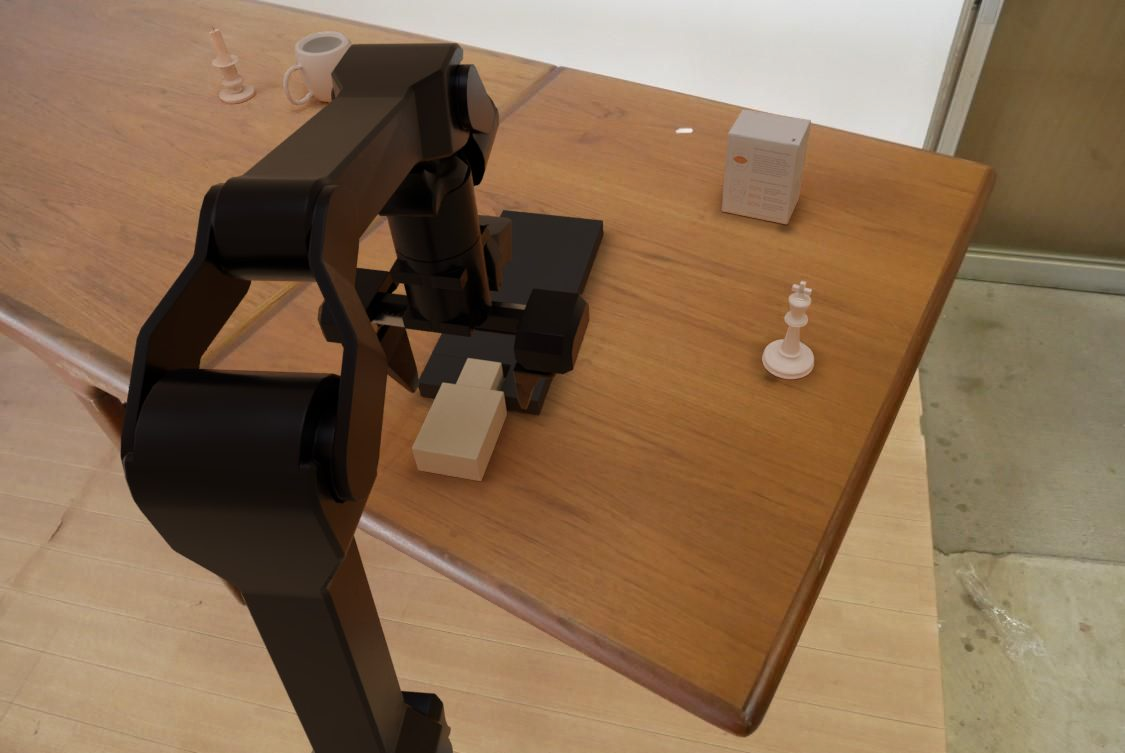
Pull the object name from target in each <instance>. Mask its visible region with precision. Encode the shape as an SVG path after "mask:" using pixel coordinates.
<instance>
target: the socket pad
mask: <svg viewBox="0 0 1125 753" xmlns="http://www.w3.org/2000/svg"><path fill="white" fill-rule="evenodd" d="M499 217H505V218H509V219H511V221H512V261H511V262H510V263H506V264H505V266H504V267H503V268H502V276H503V283H502V285H501V288H500V290H499V292H493V291H492V293H491V301H497V302H505V303H513V304H522V305H526V304H527V302H528V300H529V297H530V295H531V292H532V290H533V288H535V289H544V290H552V291H561V292H569V293H578V294H581V295H583V293H584V290H585V287H586V284H587V282H588V278H589V276H590V274H591V270H592V268H593V265H594V262H595V259H596V256H597V254H598V251H599V247H600V245H601V242H602V239H603V236H604V220H602V219H594V218H584V217H575V216H574V217H573V216H567V215H566V216H565V215H554V214H545V213H536V212H528V211H527V212H526V211H517V210H509V209H503V210H502V211H501V213H500V215H499ZM514 342H515V336H514V335H506V334H498V333H491V332H483V331H475V330H474V332H473V334H472V336H471V337H465V336H457V335H450V334H442V333H440V336H439V338H438V340H437V342H436V344H435V345H434V347H433V350H432V352H431V354H430V356H429V357H428V360H427V362H426V364H425V366H424V368H423V369H422V372H421V374H420V376H419V377H418V378H419V386H418V390H419V394H420V397H424V398H430V399H435V398H436V396H437V393H438V391H439V389H440V387H441V385H442V383H449V384H456V383H457V381H458V378H459V376H460V374H461V372H462V370H463V367H464V365H465V363H466V361H467V359H468V358H472V359H478V360H485V361H492V362H499V363H501V365H502V371H503V377H504V384H503V386H502V389H501V391H502V392H504V398H505V404H506V410H507V411H511V412H517V413H518V412H520V413H523V414H529V415H530V414H532V415H538V416H540V414H541V412H542V409H543V406H544V403H545V400H546V398H547V394H548V392H549V389H550V387H551V384H552V381H553V378H554V377H552V378H549V379H546V378H540V380H539V381H538V382H537V384H536V385H535V387H534V389H533V392H532V395H531V398H530V401H529V404H528V407H527V409H522V408H521V406H520V404H519V402H518V397H517V391H516V385H515V379H514V373H513V369H514V367H515V364H516V362H517V361H516V360H515V355H514Z"/></svg>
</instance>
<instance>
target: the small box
mask: <svg viewBox="0 0 1125 753" xmlns="http://www.w3.org/2000/svg"><path fill="white" fill-rule="evenodd" d="M811 124H812V121H811V119H806V118H800V117H794V116H787V115H781V114H776V113H768V112H763V111H757V110H751V109H744V108H743V109H742V110H741V111H740V113H739V114H738V116H737V118H736V119H735V121H734V123H733V124H732V126H731V128H730V129H729V131H728V132H727V137H726V138H727V139H726V151H725V152H726V153H725V162H724V175H723V187H722V188H723V189H722V200H721V212H724V213H728V214H734V215H737V216H738V215H739V216H743V217H747V218H753V219H758V220H762V221H768V222H772V223H777V224H781V225H788V224H789V222H790V220H791V217H792V216H793V213H794V210H795V208H796V206H797V204H798V201H799V199H800V195H801V189H802V183H803V177H804V169H805V163H806V158H807V151H808V150H807V149H808V145H809V138H810V133H811V132H810V131H811Z"/></svg>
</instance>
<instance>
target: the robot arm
mask: <svg viewBox="0 0 1125 753" xmlns="http://www.w3.org/2000/svg"><path fill="white" fill-rule="evenodd" d="M463 60H464V49H463V47H461V45H460V44H458V42H415V43H414V42H413V43H412V42H411V43H409V42H407V43H406V42H405V43H398V42H397V43H352V45H351V46H350V47H349V48H348V50H347V51H346V53H345V54H344V55H343V57H342V58H341V60H340V61H339V62H338V64H337V65H336V67H335V68H334V70H333V71H332V72H331V77H332V83H333V87H332V90H331V100H332V101H331V102H328V103H327V104H326V105H325V106H324V107H323V108H321V109H320V110H319V111H318V112H316V114H314V115H312V117H310V118H309V119H308V120H307V121H306V122H305V123H303V124H301V126H300V127H298V128H297V129H296V130H295V131H294V132H293V133H291V134H290V135H288V137H287V138H285V139H284V140H282V142H280V143H279V144H278V145H277V146H276V147H275V148H273V149H272V150H270V152H268V153H267V154H266V155H265V156H264V157H262V158H261V159H260V160H259V161H258V162H257V163H255V164H254V165H253V166H252V167H250V168H249V169H248V170H246V172H244V173H243V174H242V175H238V176H232V177H230V178H228V179H227V180H226V181H225V182H219V183H216V184H214V185H211V186H210V188H209V189H208V190H207V191H206V193H205V194H204V196H203V199H202V203H201V205H200V210H199V217H198V222H197V229H196V236H195V242H194V250H193V254H192V257H191V259H189V261H188V263H187V264H186V266H185V267H184V268H183V270H182V271H181V272H180V273H179V275H178V277H177V278H176V279H175V280H174V282H173V284H172V285H171V286H170V288H169V289H168V291H166V293H165V294H164V296H163V297H162V298H161V300H160V301H159V303H158V304H157V305H156V307H155V308H154V309H153V311H152V312H151V314H150V315H149V316H148V318H147V319H146V320H145V322H144V323H143V325H142V326H141V327H140V329H139V332H138V334H137V337H136V341H135V346H134V353H133V359H132V366H131V371H130V372H131V373H130V378H129V384H128V391H127V397H126V404H125V409H124V416H123V421H122V422H123V423H122V428H121V435H120V454H119V455H120V460H121V461H120V462H121V465H122V469H123V475H124V479H125V482H126V485H127V488H128V490H129V493H130V497H131V498H132V500H133V502H134V503H135V505H136V507H137V509H139V511H140V512H141V513H142V515H144V517H145V518H146V519H147V520H148V522H149V523H150V524H151V525H152V527H153V528H154V529H155V530H156V531H157V533H158V534H159V535H160V537H161V538H162V539H163V540H164V541H165V543H166V544H167V545H168V546H169V547H170V548H171V550H172V551H173V552H175V553H177V554H178V555H180V556H182V557H184V558H185V559H188V560H190V562H193V563H195V564H196V565H198V566H199V567H202V568H203V569H205V570H207V571H209V572H210V573H212V574H214V575H216V576H217V577H219V578H221V579H223V580H225V581H226V582H228V583H230V584H232V585H233V586H234V587H235V588H237V589H238V591H239V592H240V595H241V597H242V599H243V602H244V604H245V605H246V607H247V610H248V612H249V614H250V616H251V619H252V621H253V623H254V626H255V628H256V630H257V631H258V634H259V636H260V638H261V640H262V643H263V645H264V647H265V649H266V651H267V653H268V656H269V657H270V660H271V662H272V664H273V666H274V668H275V670H276V673H277V675H278V677H279V680H280V682H281V684H282V686H283V688H284V690H285V692H286V694H287V696H288V699H289V701H290V703H291V706H292V707H293V710H294V711H295V712H294V713H295V714H296V716H297V718H298V720H299V722H300V725H301V727H302V729H303V732H304V734H305V736H306V737H307V740H308V742H309V744H310V746H311V749H312V750H311V753H454V748H453V744H452V742H451V739H450V735H451V731H452V728H451V726H449V724H448V721H447V719H446V714H445V705H444V702H443V701H442V699H441V698H440V697H439V695H438V694H437V693H434V692H423V691H422V692H421V691H410V690H402V688H401V686H400V682H399V679H398V676H397V672H396V669H395V666H394V663H393V659H392V656H391V652H390V650H389V646H388V643H387V639H386V636H385V633H384V629H383V627H382V623H381V619H380V616H379V614H378V610H377V606H376V603H375V600H374V596H373V593H372V590H371V587H370V583H369V580H368V577H367V574H366V570H365V567H364V563H363V560H362V557H361V553H360V551H359V550H360V549H359V546H358V544H357V541H356V537H355V534H356V531H357V528H358V526H359V523H360V522H361V517H362V516H363V513H364V511H365V508H366V506H367V503H368V501H369V498H370V495H371V492H372V490H373V487H374V485H375V482H376V480H377V477H378V469H379V468H378V467H379V461H380V453H381V442H382V434H383V422H384V413H385V402H386V392H387V382H388V377H390V378H391V379H392V380H393V381H394V382H396V383H397V384H398V385H400V386H401V387H403V388H404V389H405V390H406V391H408V392H409V393H413V394H415V393H416V392H417V390H418V389H419V387H418V386H419V378H420V377H419V370H418V366H417V363H416V360H415V356H414V352H413V349H412V346H411V345H412V344H411V342H410V339H409V335H408V332H407V330H413V331H419V332H420V331H421V332H427V333H435V334H450V335H457V336H465V337H471V336H472V334H473V332H474V330H475V331H483V332H491V333H498V334H506V335H514V336H515V342H514V355H515V360H516V361H517V362H516V364H515V367H514V369H513V373H514V379H515V385H516V391H517V397H518V402H519V404H520V406H521V408H522V409H527V407H528V404H529V401H530V398H531V395H532V392H533V389H534V387H535V385H536V384H537V382H538V381H539V380H540V378H546V379H549V378H552V377H553V378H554V377H555V376H556V375H565V374H568V373H570V372H571V371H573V370H575V365H576V362H577V360H578V356H579V353H580V350H581V347H582V344H583V341H584V338H585V336H586V332H587V329H588V326H589V324H590V305H589V304H590V303H589V302H588V300H587V299H586V297H585V296H584V295H583V294H582V295H581V294H578V293H569V292H561V291H552V290H544V289H535V288H533V290H532V292H531V295H530V297H529V300H528V302H527V304H526V305H522V304H513V303H505V302H497V301H491V293H492V291H493V292H499V290H500V288H501V285H502V283H503V276H502V268H503V267H504V266H505V264H506V263H510V262H511V261H512V221H511V219H509V218H505V217H500V216H494V215H486V214H479V211H478V205H477V198H476V192H475V187H477V186H479V185H480V184H481V183H482V181H483V180H484V176H485V173H486V170H487V166H488V163H489V159H490V156H491V152H492V150H493V146H494V144H495V139H496V136H497V133H498V130H499V126H500V112H499V109H498V107H497V106H496V104H495V103H494V100H493V99H492V98H491V96H490V95H489V94H488V92H487V90H486V88H485V85H484V83H483V81H482V78H481V76H480V74H479V72H478V68H477V67H476V65H475V64H473V63H471V64H470V63H467V64H466V63H461V62H463ZM377 216H380V217H386V219H387V223H388V228H389V232H390V235H391V239H392V240H391V241H392V244H393V247H394V252H395V255H396V259H395V261H394V263H393V264H392V265H391V267H390V269H389V270H382V269H373V268H366V267H365V268H364V267H358V260H359V250H360V239H361V237H363V235H364V233H365V232H366V231H367V230H368V228H369V227H370V225H372V224H373V221H374V220H375V219H376V217H377ZM252 282H289V283H290V282H293V283H294V282H295V283H296V282H298V283H316V285H317V286H318V289H319V291H320V293H321V295H322V298H323V301H322V302H321V304H320V305H319V307H318V310H317V322H318V325H319V328H320V330H321V331H320V332H321V333H322V336H323V338H324V339H325V341H326V343H334V344H340V345H341V347H342V348H343V349H342V358H341V367H340V368H341V369H340V374H336V373H332V372H331V373H329V372H305V371H303V372H302V371H301V372H300V371H275V370H274V371H273V370H249V369H248V370H247V369H246V370H245V369H244V370H243V369H220V368H219V369H216V368H200V365H201V360H202V357H203V356H204V354H205V353H206V352H207V350H208V349H209V348H210V346H211V344H212V343H213V341H214V340H215V339H216V337H218V335H219V333H220V332H221V330H222V329H223V328H224V326H225V325H226V324H227V322H228V321H229V319H230V318H231V317H232V315H233V314H234V312H235V311H236V310H237V308H238V307H239V306H240V304H241V303H242V302H243V300H244V299H245V297H246V296H247V294H248V292H249V290H250V288H251V285H252ZM400 284H401V285H403V287H404V291H405V294H401V293H394V292H395V291H396V290H397V289H398V287H399V286H400ZM553 378H552V379H553Z"/></svg>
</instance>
